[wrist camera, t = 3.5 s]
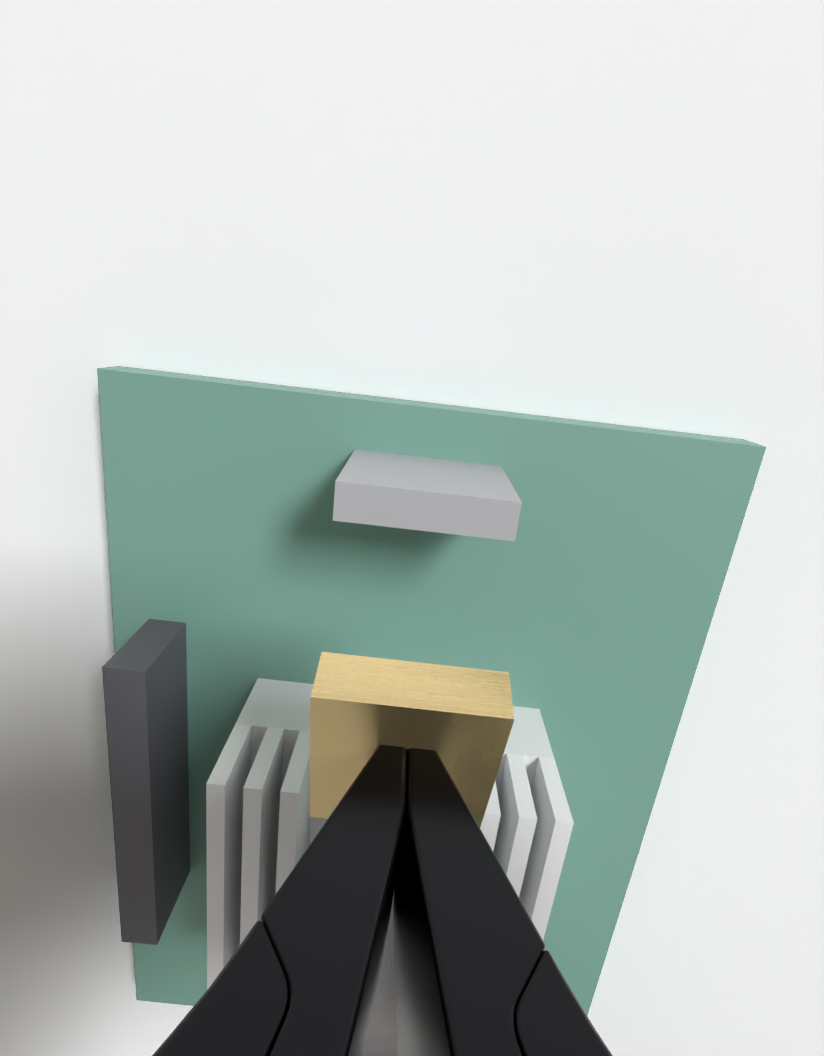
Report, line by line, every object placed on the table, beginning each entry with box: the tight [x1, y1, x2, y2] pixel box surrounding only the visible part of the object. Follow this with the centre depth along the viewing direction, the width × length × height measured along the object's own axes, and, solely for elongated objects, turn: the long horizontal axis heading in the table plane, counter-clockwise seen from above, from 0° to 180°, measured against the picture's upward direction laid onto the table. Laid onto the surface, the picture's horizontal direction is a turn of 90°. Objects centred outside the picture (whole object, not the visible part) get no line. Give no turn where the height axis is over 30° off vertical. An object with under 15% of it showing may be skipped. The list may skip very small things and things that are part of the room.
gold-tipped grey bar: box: [310, 652, 514, 1056], centre depth 13 cm, size 17×3×1 cm, turn 174°
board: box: [97, 366, 766, 1015], centre depth 16 cm, size 22×16×5 cm
